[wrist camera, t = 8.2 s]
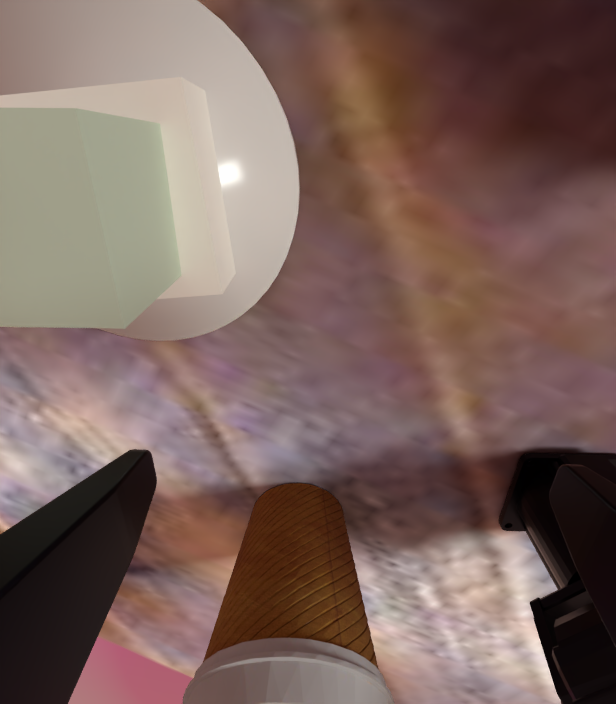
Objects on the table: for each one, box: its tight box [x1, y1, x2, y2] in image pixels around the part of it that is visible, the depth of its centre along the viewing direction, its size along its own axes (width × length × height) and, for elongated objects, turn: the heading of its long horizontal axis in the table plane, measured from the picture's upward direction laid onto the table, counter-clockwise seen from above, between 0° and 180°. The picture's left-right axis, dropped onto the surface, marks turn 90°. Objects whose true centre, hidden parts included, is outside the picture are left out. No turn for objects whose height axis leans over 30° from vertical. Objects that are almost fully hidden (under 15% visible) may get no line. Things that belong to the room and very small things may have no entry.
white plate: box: [0, 0, 300, 341], centre depth 17 cm, size 14×14×2 cm
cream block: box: [0, 77, 236, 299], centre depth 15 cm, size 7×7×3 cm
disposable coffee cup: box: [183, 483, 394, 704], centre depth 22 cm, size 10×10×12 cm
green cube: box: [0, 108, 182, 329], centre depth 12 cm, size 5×5×5 cm
